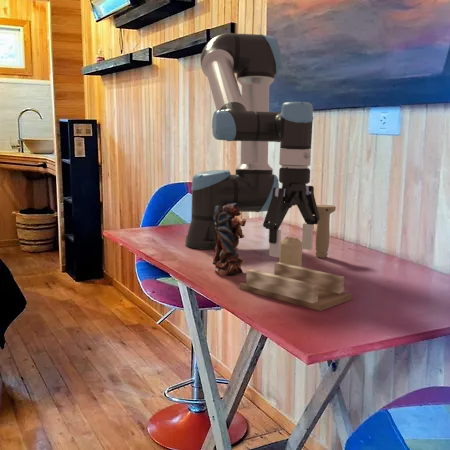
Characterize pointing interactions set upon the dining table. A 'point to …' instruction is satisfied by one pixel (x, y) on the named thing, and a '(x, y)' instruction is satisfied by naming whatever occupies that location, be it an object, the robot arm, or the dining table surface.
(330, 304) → the rack
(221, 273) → the figurine
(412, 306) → the dining table surface
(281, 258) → the candle
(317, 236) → the handle
